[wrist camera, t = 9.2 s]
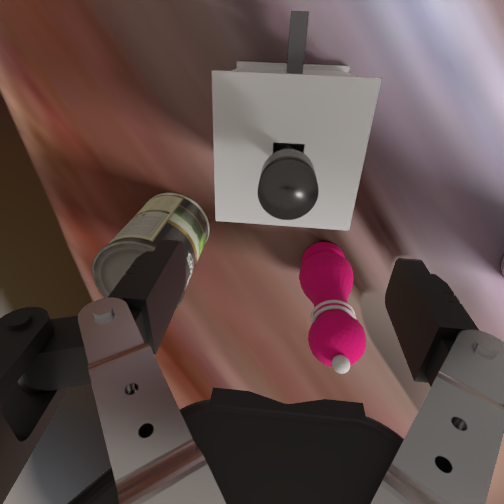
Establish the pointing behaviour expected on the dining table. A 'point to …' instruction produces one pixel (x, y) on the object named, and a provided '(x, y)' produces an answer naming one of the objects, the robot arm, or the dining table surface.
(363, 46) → the dining table surface
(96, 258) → the coffee can
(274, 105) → the white cabinet
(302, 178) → the grey thin rod
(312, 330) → the pepper mill
